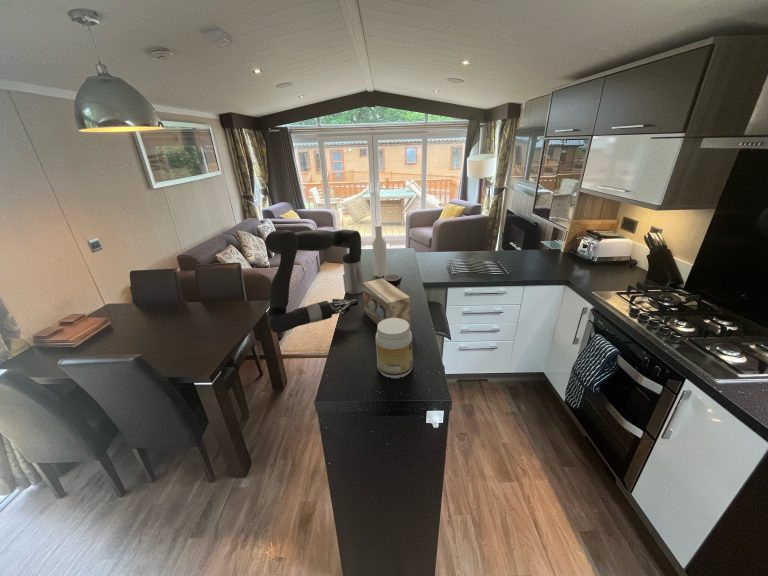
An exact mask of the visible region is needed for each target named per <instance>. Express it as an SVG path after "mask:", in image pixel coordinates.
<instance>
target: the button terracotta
mask: <svg viewBox="0 0 768 576" xmlns="http://www.w3.org/2000/svg"><path fill="white" fill-rule="evenodd" d="M364 301H365V303H366V304H368V303H369V302H370V297H369V295H368V294H365V295H364V298H363V302H364Z"/></svg>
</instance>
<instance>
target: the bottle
mask: <svg viewBox="0 0 768 576" xmlns="http://www.w3.org/2000/svg"><path fill="white" fill-rule="evenodd" d="M382 228H383V227H382V225H381V224H376V225H374V229H375V233H374V234H375V237H374V239H373V241H372V257H373V258H372V259H373V273H374V276H375V277H376V276H377V277H376V278H384V277H383V276H386V275H388V257H387V255H388V254H387V242H386V240H385V238H383V230H382Z"/></svg>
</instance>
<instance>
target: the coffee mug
mask: <svg viewBox="0 0 768 576" xmlns="http://www.w3.org/2000/svg"><path fill="white" fill-rule="evenodd" d="M383 279H384V280H386V281H387V282H388V283H390V284H391V285H393V286H394V287H396V288H397V289H399V290H400V291H401V282H402V279H403V278H402V275H399V274H395V273H392V274H391V273H390V274H387V275H386V276H384V277H383Z"/></svg>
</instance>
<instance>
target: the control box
mask: <svg viewBox="0 0 768 576" xmlns="http://www.w3.org/2000/svg"><path fill="white" fill-rule="evenodd" d="M362 286H363V292H362V297H363V299H364V295H365V294H368V295H369V297H370V301H373V300H374V301H375V302H376V305H377V309H378V308H381V307H382V308H383V309H384V311H385V317H384V318H381V319H379V318H378V316H377V314H376V310H375V311H371V310H370V309H369V305H368V304H366V303H365V301H364V300H363V307H364V314H365V315H367V316H368V317H369V319H370V320H372V321H373V322H374V323H375V324H376V325H377V326H378V324H379V323H380V322H381V321H382V320H385V319H388V318H400V319H403V320H406V321H407V322H408V323H409V328H410V329H411V297H410V296H409V295H407V293H404V292H403V291H402V290H401V289H400V290H399V289H397V288H396V287H394V286H393V285H391V284H390V283H388V282H387V281H386V280H384V277H380V278H376V279H373V280H370V281H364V282H363V283H362Z"/></svg>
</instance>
